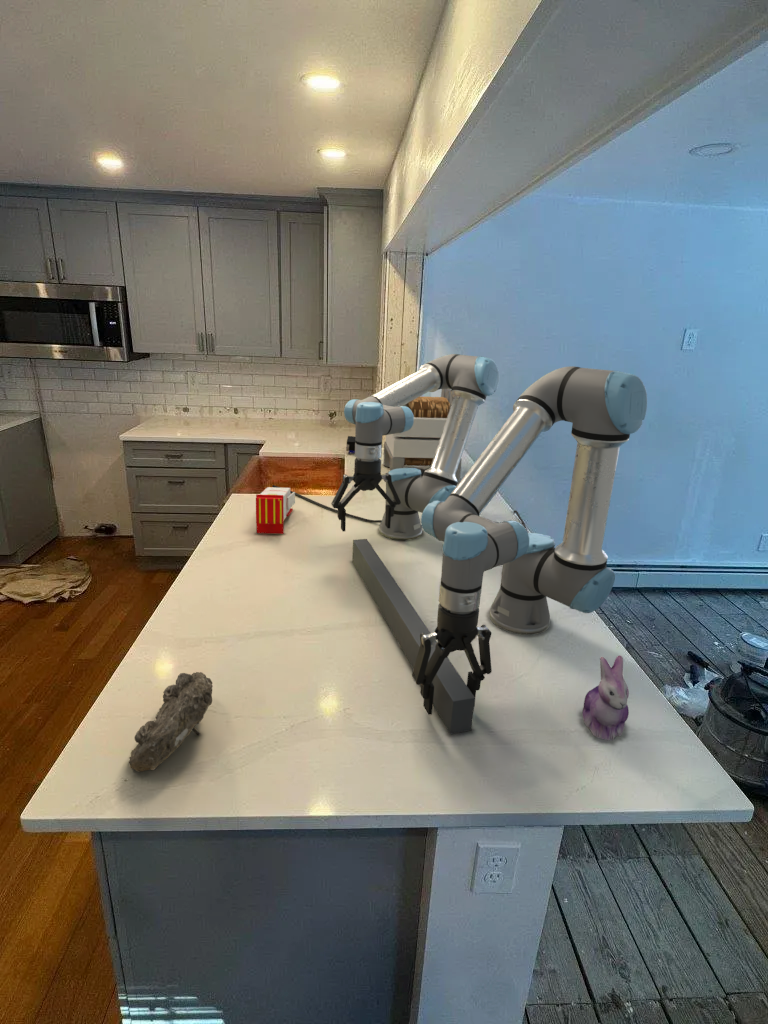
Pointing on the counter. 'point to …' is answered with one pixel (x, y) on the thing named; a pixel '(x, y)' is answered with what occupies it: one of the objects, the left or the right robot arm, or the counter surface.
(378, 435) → the left robot arm
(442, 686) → the bar
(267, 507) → the toy
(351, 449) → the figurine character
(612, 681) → the figurine
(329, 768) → the counter surface
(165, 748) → the fossil
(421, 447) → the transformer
